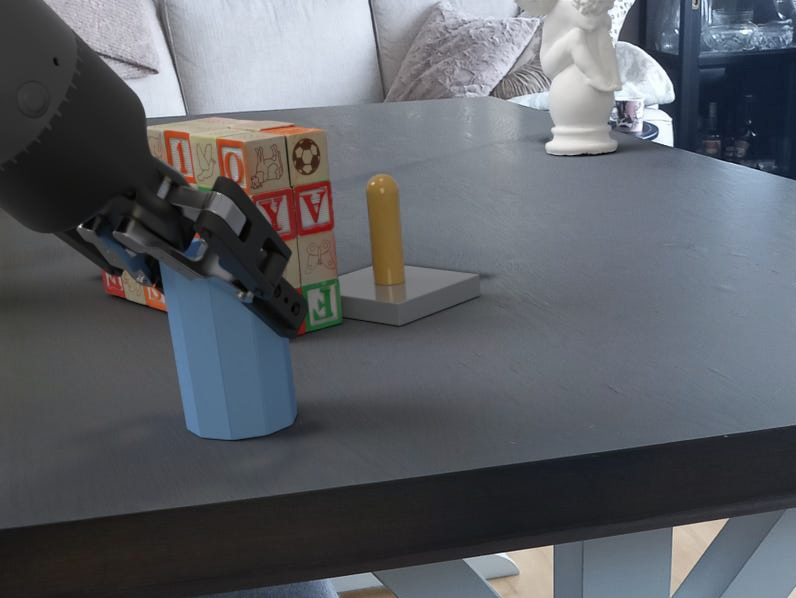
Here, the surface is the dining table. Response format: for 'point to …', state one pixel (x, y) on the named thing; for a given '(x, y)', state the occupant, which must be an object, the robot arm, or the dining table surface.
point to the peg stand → (397, 270)
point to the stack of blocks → (260, 198)
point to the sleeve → (226, 361)
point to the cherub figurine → (578, 72)
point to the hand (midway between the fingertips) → (253, 314)
